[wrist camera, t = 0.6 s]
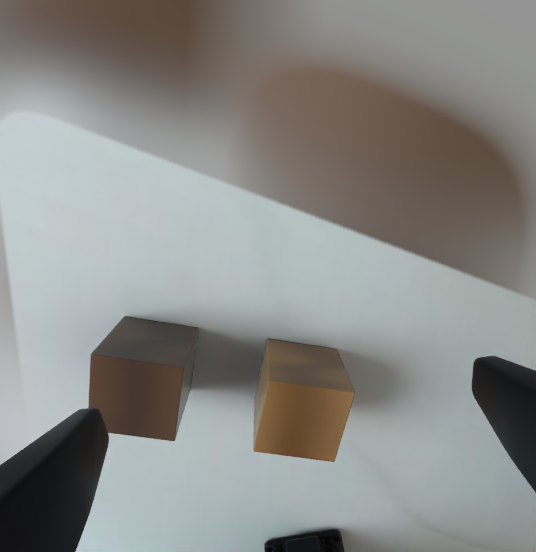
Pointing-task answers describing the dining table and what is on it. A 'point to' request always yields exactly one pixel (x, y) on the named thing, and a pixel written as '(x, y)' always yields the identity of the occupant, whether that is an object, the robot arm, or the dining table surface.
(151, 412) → the walnut block
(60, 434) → the robot arm
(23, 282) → the dining table surface
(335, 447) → the oak block
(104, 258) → the dining table surface
